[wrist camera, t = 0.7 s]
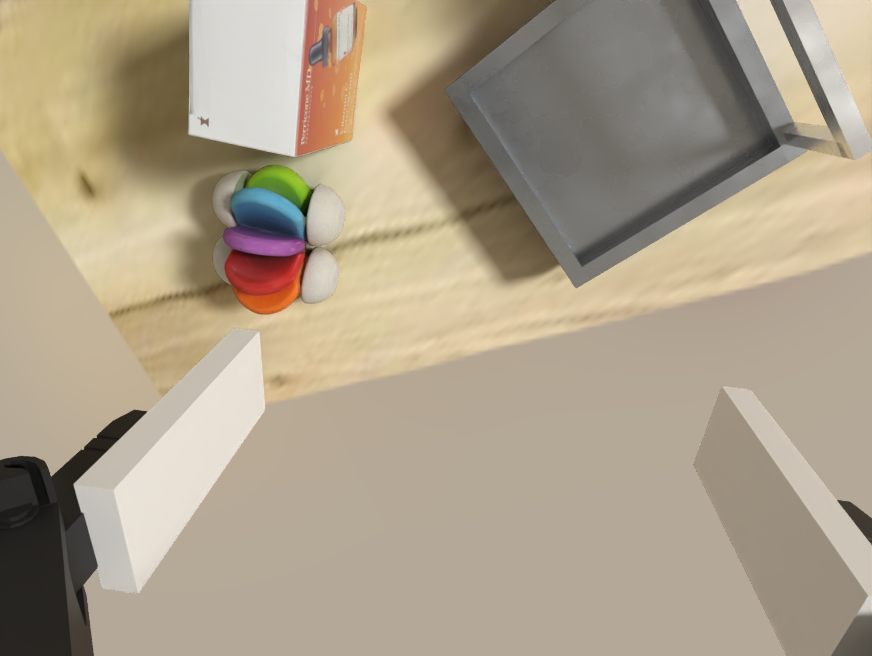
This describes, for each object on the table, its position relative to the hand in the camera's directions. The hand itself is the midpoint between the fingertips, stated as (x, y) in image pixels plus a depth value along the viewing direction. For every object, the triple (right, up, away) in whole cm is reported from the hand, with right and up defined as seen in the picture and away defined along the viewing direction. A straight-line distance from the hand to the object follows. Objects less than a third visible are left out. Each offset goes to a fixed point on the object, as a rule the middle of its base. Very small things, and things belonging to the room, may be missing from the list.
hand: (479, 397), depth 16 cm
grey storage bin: (+9, +15, +17) cm, 25 cm away
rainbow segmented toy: (-12, +9, +23) cm, 28 cm away
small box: (-9, +18, +18) cm, 28 cm away
